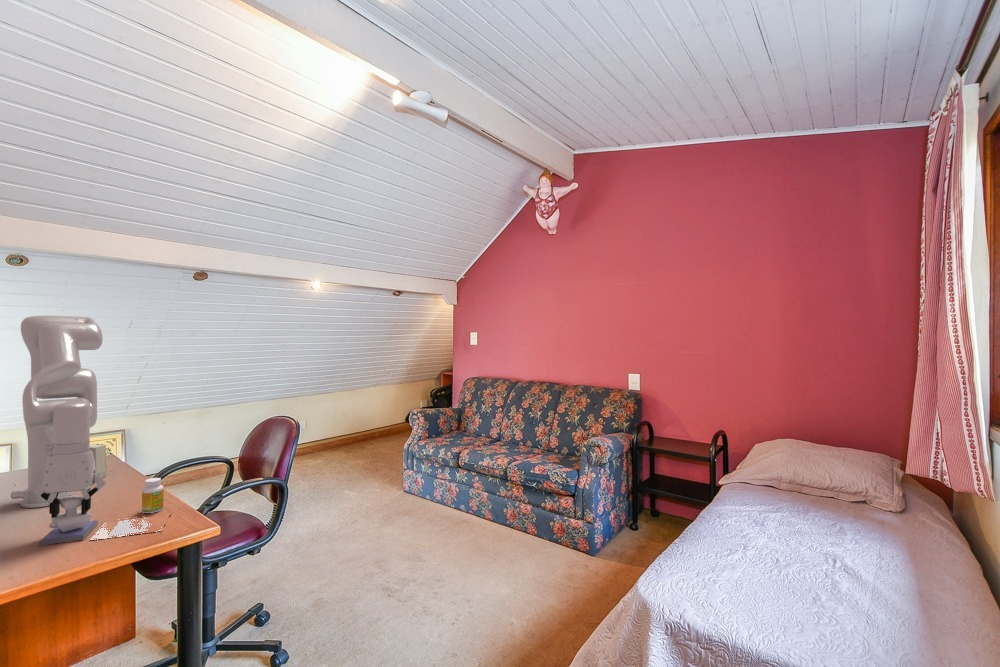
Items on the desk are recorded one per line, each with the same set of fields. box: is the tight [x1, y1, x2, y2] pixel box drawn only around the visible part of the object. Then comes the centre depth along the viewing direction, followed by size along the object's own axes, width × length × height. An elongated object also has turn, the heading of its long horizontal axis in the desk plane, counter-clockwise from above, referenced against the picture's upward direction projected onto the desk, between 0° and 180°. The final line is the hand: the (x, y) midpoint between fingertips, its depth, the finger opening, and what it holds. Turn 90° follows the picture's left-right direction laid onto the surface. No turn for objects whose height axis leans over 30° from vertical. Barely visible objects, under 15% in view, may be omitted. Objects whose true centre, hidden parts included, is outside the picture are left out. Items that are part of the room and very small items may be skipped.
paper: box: [89, 518, 162, 541], centre depth 136 cm, size 16×14×1 cm
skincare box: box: [89, 443, 107, 479], centre depth 178 cm, size 6×4×12 cm
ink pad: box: [39, 519, 99, 547], centre depth 130 cm, size 9×11×2 cm
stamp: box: [48, 494, 93, 532], centre depth 130 cm, size 9×7×8 cm
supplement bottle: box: [141, 477, 165, 514], centre depth 148 cm, size 5×5×10 cm
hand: (70, 513), depth 130 cm, fingers closed on stamp, 5 cm apart
